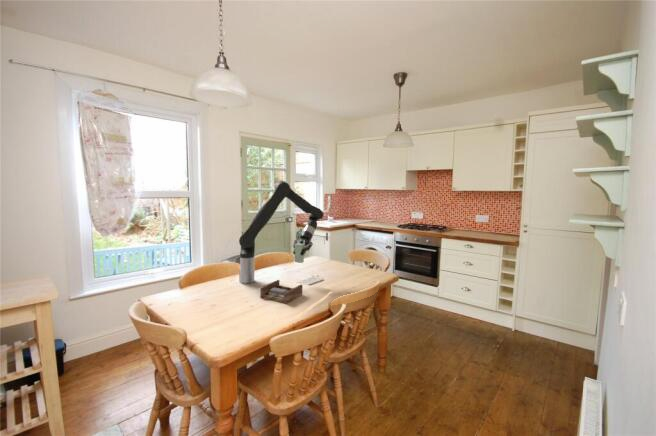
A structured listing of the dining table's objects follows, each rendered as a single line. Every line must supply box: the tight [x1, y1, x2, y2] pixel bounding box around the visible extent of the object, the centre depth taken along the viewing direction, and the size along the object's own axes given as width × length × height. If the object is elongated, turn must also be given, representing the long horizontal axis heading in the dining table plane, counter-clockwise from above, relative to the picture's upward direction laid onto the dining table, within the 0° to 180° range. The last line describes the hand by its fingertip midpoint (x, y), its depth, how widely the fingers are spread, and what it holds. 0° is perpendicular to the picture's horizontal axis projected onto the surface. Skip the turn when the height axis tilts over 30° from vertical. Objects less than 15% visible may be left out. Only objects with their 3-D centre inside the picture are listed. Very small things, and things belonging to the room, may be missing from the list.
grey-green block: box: [294, 243, 305, 264], centre depth 186 cm, size 5×3×12 cm, turn 62°
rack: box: [259, 279, 303, 305], centre depth 164 cm, size 18×16×7 cm
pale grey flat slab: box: [295, 275, 324, 286], centre depth 191 cm, size 31×3×12 cm
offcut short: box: [270, 288, 287, 296], centre depth 163 cm, size 9×4×2 cm, turn 68°
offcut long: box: [268, 292, 284, 299], centre depth 162 cm, size 12×5×2 cm, turn 62°
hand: (297, 254), depth 184 cm, fingers closed on grey-green block, 5 cm apart
